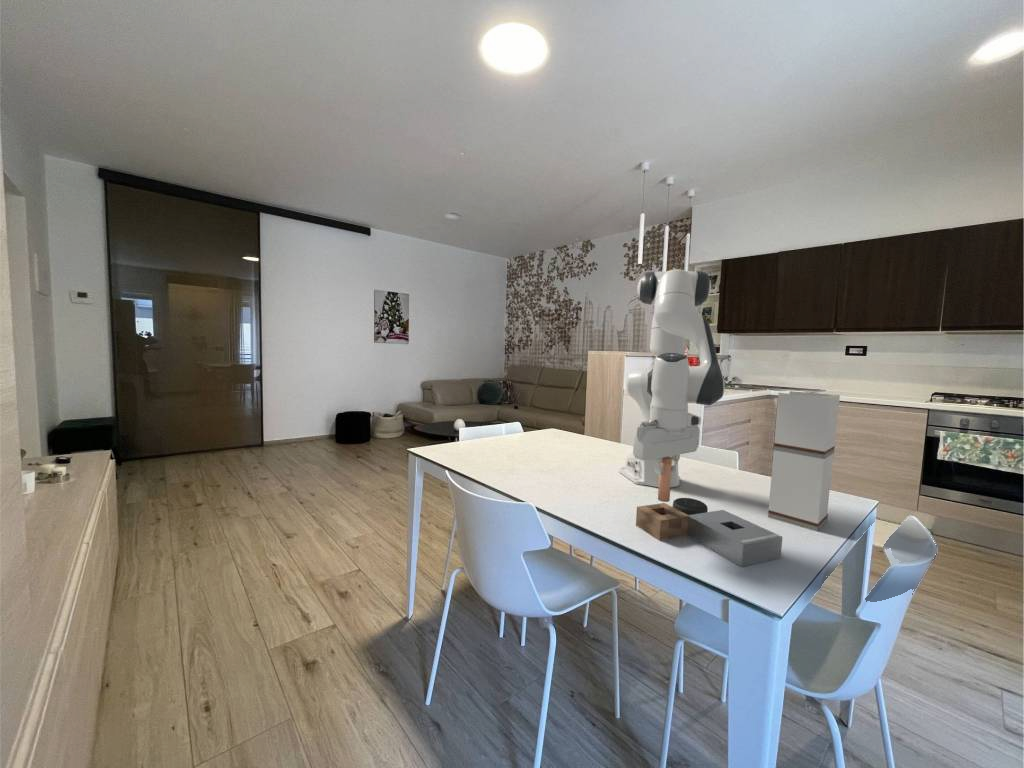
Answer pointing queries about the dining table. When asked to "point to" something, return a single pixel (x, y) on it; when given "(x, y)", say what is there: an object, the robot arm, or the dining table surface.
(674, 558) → the dining table surface
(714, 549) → the dock
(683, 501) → the smart speaker
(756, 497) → the dining table surface
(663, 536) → the mount
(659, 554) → the dining table surface
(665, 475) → the pin
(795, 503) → the white tall box
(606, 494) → the dining table surface
